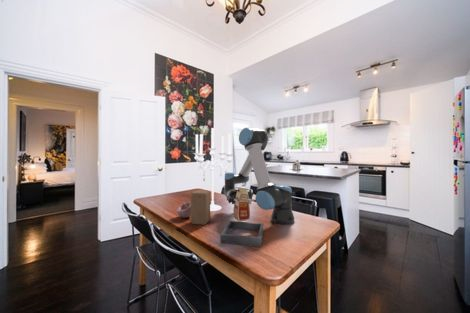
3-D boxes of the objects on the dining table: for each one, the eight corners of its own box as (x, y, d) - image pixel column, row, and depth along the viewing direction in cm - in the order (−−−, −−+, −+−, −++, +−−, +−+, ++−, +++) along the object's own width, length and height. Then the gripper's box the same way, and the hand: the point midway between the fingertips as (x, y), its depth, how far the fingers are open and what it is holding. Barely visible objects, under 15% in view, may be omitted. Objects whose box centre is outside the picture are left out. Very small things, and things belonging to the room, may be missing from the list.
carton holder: (263, 230, 111) (263, 223, 111) (260, 246, 92) (260, 238, 92) (230, 227, 116) (230, 220, 115) (220, 242, 96) (220, 234, 96)
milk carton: (238, 221, 115) (238, 188, 115) (232, 217, 124) (232, 186, 123) (251, 219, 119) (251, 187, 119) (245, 215, 127) (245, 185, 127)
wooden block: (205, 225, 119) (205, 193, 119) (190, 224, 121) (190, 192, 121) (210, 219, 129) (210, 190, 129) (196, 218, 131) (196, 189, 131)
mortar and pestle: (173, 217, 135) (173, 201, 135) (189, 213, 143) (188, 198, 142) (181, 221, 126) (181, 204, 126) (197, 217, 134) (197, 201, 134)
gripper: (246, 199, 141) (260, 207, 120) (219, 201, 135) (228, 210, 113) (246, 189, 141) (259, 195, 120) (219, 191, 135) (227, 198, 113)
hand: (244, 202), depth 116 cm, fingers closed on milk carton, 8 cm apart
